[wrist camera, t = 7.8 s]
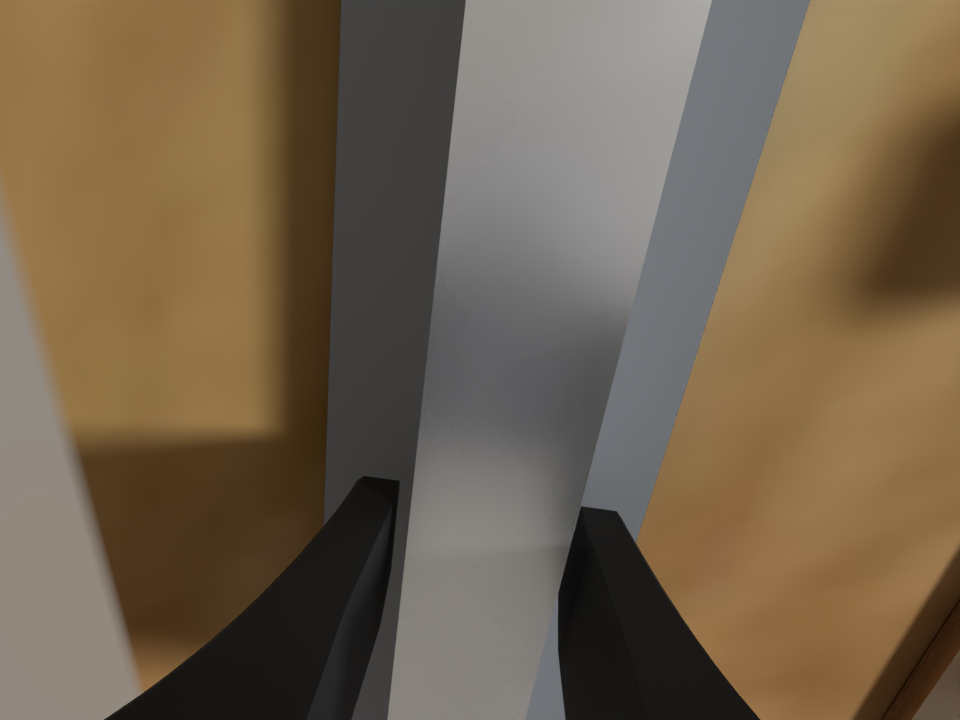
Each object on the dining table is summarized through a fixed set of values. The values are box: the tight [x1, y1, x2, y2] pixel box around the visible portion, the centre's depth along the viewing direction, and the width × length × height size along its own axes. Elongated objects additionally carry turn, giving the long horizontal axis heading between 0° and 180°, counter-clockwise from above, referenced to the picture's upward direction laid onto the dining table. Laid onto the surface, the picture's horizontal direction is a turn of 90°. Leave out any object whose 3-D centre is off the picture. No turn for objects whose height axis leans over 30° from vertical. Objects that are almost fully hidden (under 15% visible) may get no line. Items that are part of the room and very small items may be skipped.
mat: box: [324, 0, 810, 720], centre depth 13 cm, size 21×6×1 cm, turn 172°
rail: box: [387, 0, 712, 720], centre depth 12 cm, size 20×2×2 cm, turn 172°
